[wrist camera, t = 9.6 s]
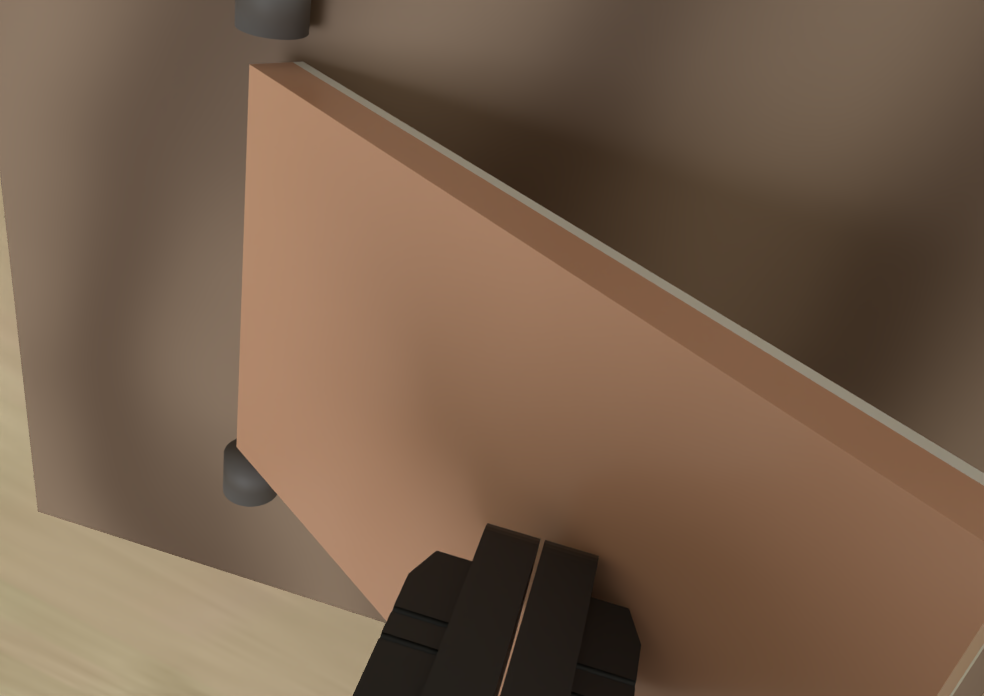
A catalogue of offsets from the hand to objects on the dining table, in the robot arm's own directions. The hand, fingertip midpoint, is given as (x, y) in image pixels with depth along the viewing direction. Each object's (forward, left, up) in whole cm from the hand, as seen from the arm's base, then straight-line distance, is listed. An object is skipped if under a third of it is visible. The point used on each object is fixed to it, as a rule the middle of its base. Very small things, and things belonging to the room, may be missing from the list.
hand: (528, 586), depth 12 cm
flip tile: (+7, 0, -6) cm, 9 cm away
